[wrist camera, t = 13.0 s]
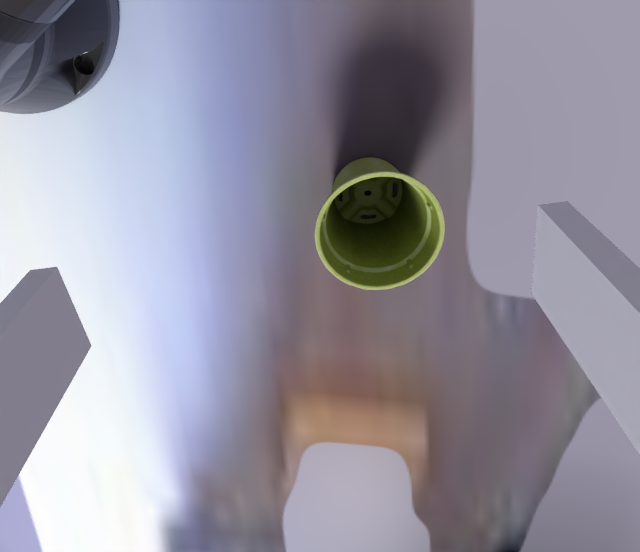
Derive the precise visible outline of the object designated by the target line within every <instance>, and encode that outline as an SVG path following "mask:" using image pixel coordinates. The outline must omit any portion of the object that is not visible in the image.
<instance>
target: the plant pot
mask: <svg viewBox="0 0 640 552" xmlns="http://www.w3.org/2000/svg"><path fill="white" fill-rule="evenodd" d="M394 182H395V183H396V184H397V194H396V196H395V197H393V196H392V195H393V183H394ZM365 191H370V192H371V194H370V195H369V196H366V195H365ZM341 192H342V201H341V200H340V199H339V197H338V194H339V193H341ZM374 214H375V215H376V216H375V218H369V219H362V218H361V217H360V216H361V215H374ZM444 233H445V223H444V216H443V212H442V209H441V207H440V204H439V202H438V201H437V199H436V197H435V196H434V194H433V193H432V192H431V191H430V189H428V188H427V187H426V186H425V185H424V184H423V183H422V182H420V181H419V180H417V179H415V178H413V177H411V176H409V175H407V174H403V173H400V172H399V171H398V170H397V169H396V168H395V167H394V166H393V165H391V164H390V163H388V162H387V161H385V160H382V159H379V158H374V157H366V158H360V159H357V160H354V161H352V162H350V163H349V164H348V165H346V166H345V167H344V168H343V169H342V170H341V171H340V173H339V174H338V175H337V177H336V178H335V181H334V184H333V188H332V192H331V194H330V196H329V197H328V198H327V199H326V201H325V202H324V204H323V205H322V207H321V209H320V211H319V214H318V217H317V221H316V226H315V243H316V248H317V251H318V254H319V256H320V258H321V260H322V262H323V263H324V265H325V266H326V268H327V269H328V270H329V271H330V272H331V273H332V274H333V275H334V276H335V277H337V278H338V279H340V280H341V281H343V282H345V283H347V284H349V285H352V286H355V287H358V288H362V289H368V290H381V289H390V288H394V287H397V286H401V285H403V284H406V283H408V282H410V281H412V280H413V279H415V278H416V277H418V276H419V275H421V274H422V273H423V272H424V271H425V270H426V269H427V268H428V267H429V266H430V265H431V264H432V263H433V261H434V260H435V259H436V257H437V255H438V253H439V251H440V249H441V246H442V243H443V239H444Z"/></svg>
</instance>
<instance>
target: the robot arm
mask: <svg viewBox="0 0 640 552" xmlns="http://www.w3.org/2000/svg"><path fill="white" fill-rule="evenodd" d="M118 32H119V9H118V1H117V0H0V111H1V112H8V113H17V114H32V113H41V112H46V111H50V110H54V109H57V108H60V107H62V106H64V105H67V104H69V103H70V102H72V101H74V100H75V99H77V98H79V97H81V96H82V95H84V94H85V93H86V92H88V91H89V90H90V89H91V88H93V87H94V86H95V85H96V84H97V83H98V81H99V80H100V79H101V78H102V76H103V75H104V73H105V72H106V70H107V68H108V67H109V65H110V62H111V60H112V58H113V55H114V52H115V49H116V45H117V39H118ZM531 293H532V295H533V296H534V298H535V299H536V301H537V302H538V304H539V305H540V307H541V308H542V310H543V311H544V313H545V314H546V316H547V317H548V319H549V320H550V322H551V323H552V325H553V326H554V328H555V329H556V331H557V332H558V334H559V335H560V337H561V338H562V339H563V341H564V342H565V344H566V345H567V347H568V348H569V350H570V351H571V353H572V354H573V356H574V357H575V359H576V360H577V362H578V363H579V365H580V366H581V368H582V369H583V371H584V372H585V374H586V375H587V377H588V378H589V380H590V381H591V383H592V384H593V386H594V387H595V389H596V390H597V392H598V393H599V395H600V396H601V398H602V399H603V401H604V402H605V404H606V405H607V407H608V408H609V410H610V411H611V413H612V414H613V416H614V417H615V419H616V420H617V422H618V423H619V425H620V426H621V427H622V429H623V430H624V432H625V433H626V435H627V436H628V438H629V439H630V441H631V442H632V444H633V445H634V447H635V448H636V450H637V451H638V453H639V454H640V269H639V267H638V266H636V265H635V264H634V263H633V262H632V261H631V260H630V259H629V258H628V257H627V256H626V255H625V254H624V253H622V252H621V251H620V250H619V249H618V248H617V247H616V246H615V245H614V244H613V243H612V242H611V241H610V240H609V239H607V238H606V237H605V236H604V235H603V234H602V233H601V232H600V231H599V230H598V229H597V228H596V227H595V226H593V225H592V224H591V223H590V222H589V221H588V220H587V219H586V218H585V217H584V216H582V215H581V214H580V213H579V212H578V211H577V210H576V209H575V208H574V207H573V206H572V205H571V204H570V203H569V202H560V203H551V204H543V205H538V212H537V226H536V238H535V251H534V264H533V277H532V291H531ZM90 347H91V344H90V342H89V339H88V337H87V335H86V332H85V330H84V328H83V325H82V323H81V321H80V319H79V316H78V314H77V312H76V309H75V307H74V305H73V303H72V300H71V298H70V296H69V293H68V291H67V289H66V286H65V284H64V282H63V280H62V277H61V275H60V273H59V270H58V268H57V267H52V268H45V269H37V270H30V271H29V272H28V273H27V274H26V276H25V277H24V278H23V279H22V280H21V281H20V282H19V283H18V284H17V286H16V287H15V288H14V289H13V290H12V291H11V292H10V293H9V294H8V296H7V297H6V298H5V299H4V300H3V301H2V302H1V303H0V507H1V505H2V503H3V501H4V500H5V498H6V496H7V494H8V492H9V491H10V489H11V487H12V485H13V484H14V482H15V480H16V478H17V477H18V475H19V473H20V471H21V469H22V468H23V466H24V464H25V462H26V461H27V459H28V457H29V455H30V454H31V452H32V450H33V448H34V446H35V445H36V443H37V441H38V439H39V438H40V436H41V434H42V432H43V431H44V429H45V427H46V425H47V423H48V422H49V420H50V418H51V416H52V415H53V413H54V411H55V409H56V408H57V406H58V404H59V402H60V400H61V399H62V397H63V395H64V393H65V392H66V390H67V388H68V386H69V385H70V383H71V381H72V379H73V377H74V376H75V374H76V372H77V370H78V369H79V367H80V365H81V363H82V362H83V360H84V358H85V356H86V354H87V353H88V351H89V349H90Z"/></svg>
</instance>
